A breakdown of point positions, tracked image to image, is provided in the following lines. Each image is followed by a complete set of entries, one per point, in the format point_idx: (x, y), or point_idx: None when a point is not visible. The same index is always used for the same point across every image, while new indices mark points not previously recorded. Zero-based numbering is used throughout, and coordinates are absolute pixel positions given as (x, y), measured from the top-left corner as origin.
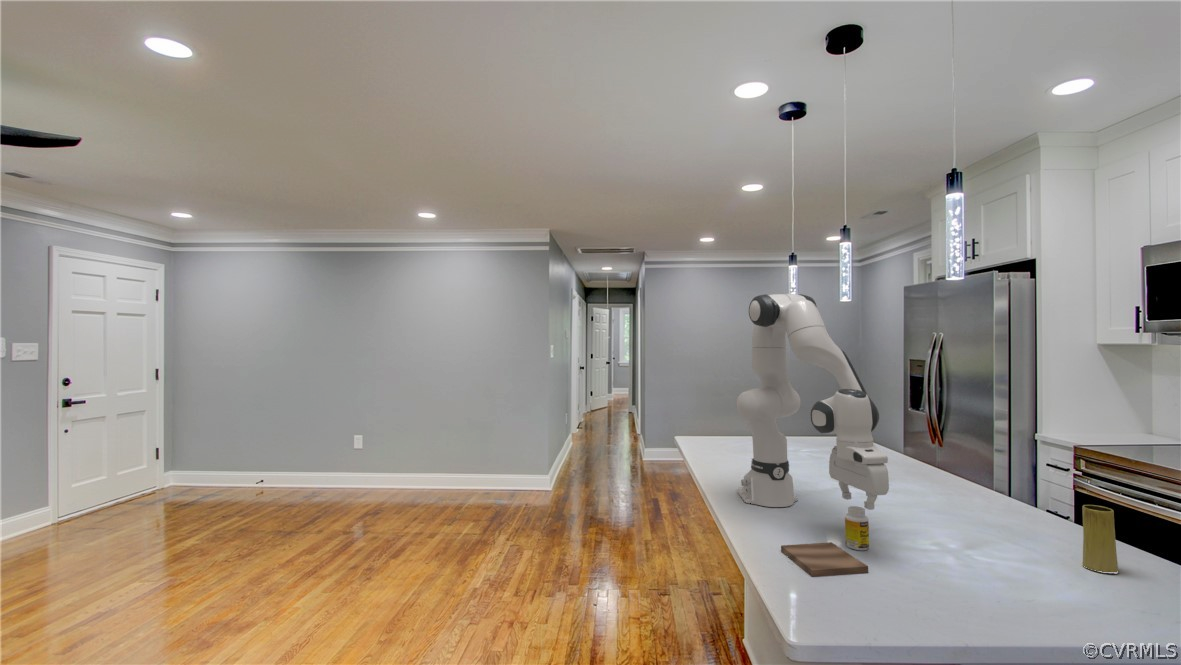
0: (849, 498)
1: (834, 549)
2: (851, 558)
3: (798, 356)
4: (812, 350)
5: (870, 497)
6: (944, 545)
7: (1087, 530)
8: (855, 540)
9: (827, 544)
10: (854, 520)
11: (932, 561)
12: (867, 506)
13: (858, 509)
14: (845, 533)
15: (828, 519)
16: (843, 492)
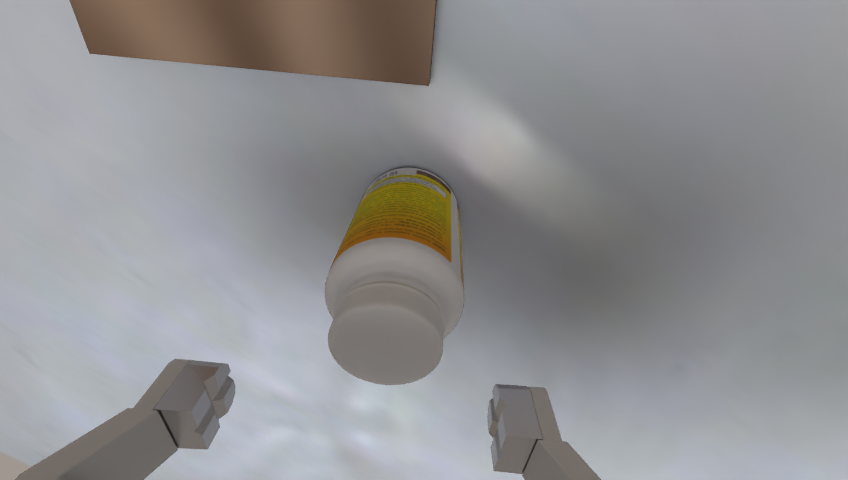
0: (490, 409)
1: (323, 24)
2: (186, 33)
3: None
4: None
5: (29, 476)
6: (368, 429)
7: None
8: (366, 197)
9: (403, 35)
10: (342, 256)
11: (257, 339)
12: (164, 376)
13: (357, 345)
14: (434, 197)
15: (732, 306)
16: (535, 437)
